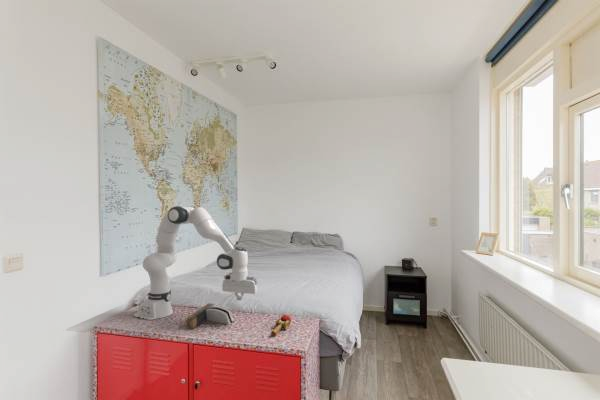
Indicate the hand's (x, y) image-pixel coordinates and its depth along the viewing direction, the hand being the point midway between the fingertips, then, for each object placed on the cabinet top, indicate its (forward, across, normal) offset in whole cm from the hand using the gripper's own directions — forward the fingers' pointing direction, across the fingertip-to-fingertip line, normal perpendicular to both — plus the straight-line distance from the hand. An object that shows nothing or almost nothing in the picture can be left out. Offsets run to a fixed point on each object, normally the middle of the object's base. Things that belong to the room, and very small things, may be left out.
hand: (239, 300), depth 172 cm
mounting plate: (+14, +21, +1) cm, 25 cm away
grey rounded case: (+14, +12, 0) cm, 19 cm away
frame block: (+14, +23, +1) cm, 27 cm away
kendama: (+13, -26, +4) cm, 29 cm away
